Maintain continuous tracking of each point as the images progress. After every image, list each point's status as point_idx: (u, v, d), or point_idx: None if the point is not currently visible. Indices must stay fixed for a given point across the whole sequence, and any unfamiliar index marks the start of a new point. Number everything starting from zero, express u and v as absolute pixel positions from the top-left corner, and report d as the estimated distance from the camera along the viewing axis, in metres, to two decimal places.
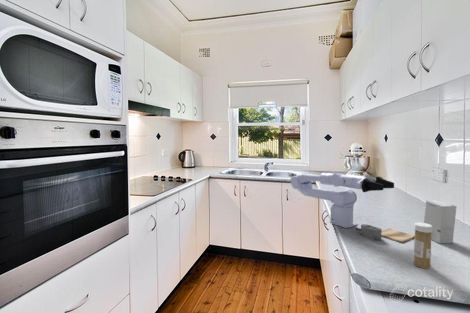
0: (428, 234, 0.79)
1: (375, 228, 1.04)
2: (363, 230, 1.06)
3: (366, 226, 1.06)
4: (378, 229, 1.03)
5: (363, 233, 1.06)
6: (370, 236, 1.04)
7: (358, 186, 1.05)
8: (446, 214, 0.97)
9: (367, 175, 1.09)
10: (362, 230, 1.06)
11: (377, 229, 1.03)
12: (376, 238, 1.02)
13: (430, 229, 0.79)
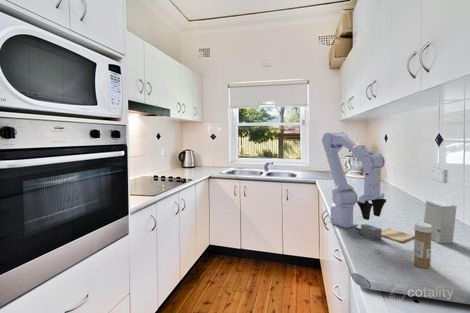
0: (428, 234, 0.79)
1: (375, 228, 1.04)
2: (363, 230, 1.06)
3: (366, 226, 1.06)
4: (378, 229, 1.03)
5: (363, 233, 1.06)
6: (370, 236, 1.04)
7: (360, 200, 1.01)
8: (446, 214, 0.97)
9: (380, 198, 1.01)
10: (362, 230, 1.06)
11: (377, 229, 1.03)
12: (376, 238, 1.02)
13: (430, 229, 0.79)
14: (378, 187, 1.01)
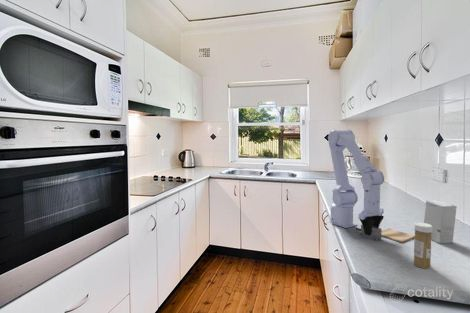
0: (428, 234, 0.79)
1: (375, 228, 1.04)
2: (363, 230, 1.06)
3: None
4: (378, 229, 1.03)
5: (363, 233, 1.06)
6: (370, 236, 1.04)
7: (359, 217, 1.01)
8: (446, 214, 0.97)
9: None
10: (362, 230, 1.06)
11: (377, 229, 1.03)
12: (376, 238, 1.02)
13: (430, 229, 0.79)
14: (378, 204, 1.02)
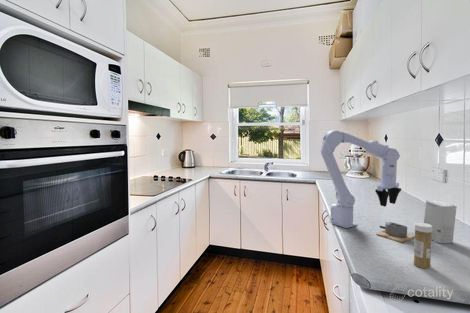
0: (428, 234, 0.79)
1: (400, 226, 1.04)
2: (388, 228, 1.06)
3: (391, 224, 1.07)
4: (404, 227, 1.03)
5: (388, 231, 1.06)
6: (395, 234, 1.04)
7: (378, 188, 1.13)
8: (446, 214, 0.97)
9: (396, 187, 1.13)
10: (387, 228, 1.07)
11: (403, 227, 1.03)
12: (402, 236, 1.02)
13: (430, 229, 0.79)
14: (394, 177, 1.13)
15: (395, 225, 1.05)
